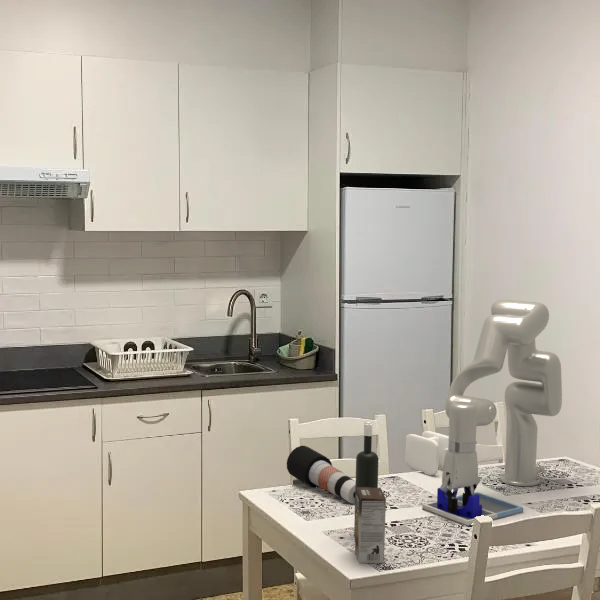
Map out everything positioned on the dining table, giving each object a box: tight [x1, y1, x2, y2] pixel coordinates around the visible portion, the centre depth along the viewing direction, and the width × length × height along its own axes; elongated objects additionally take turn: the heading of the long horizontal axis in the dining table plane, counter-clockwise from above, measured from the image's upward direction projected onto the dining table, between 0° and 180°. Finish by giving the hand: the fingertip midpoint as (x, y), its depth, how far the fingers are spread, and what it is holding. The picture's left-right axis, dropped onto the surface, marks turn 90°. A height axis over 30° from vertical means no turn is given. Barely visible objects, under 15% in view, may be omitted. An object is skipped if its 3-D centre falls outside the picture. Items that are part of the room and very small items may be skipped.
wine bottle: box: [353, 421, 379, 537], centre depth 248 cm, size 6×6×30 cm
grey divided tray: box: [421, 491, 524, 527], centre depth 271 cm, size 22×18×2 cm
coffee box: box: [354, 487, 387, 564], centre depth 233 cm, size 9×6×16 cm
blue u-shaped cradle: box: [436, 487, 482, 519], centre depth 268 cm, size 12×4×6 cm, turn 46°
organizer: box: [404, 430, 449, 476], centre depth 313 cm, size 15×11×12 cm
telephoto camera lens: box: [286, 445, 356, 505], centre depth 285 cm, size 10×34×10 cm, turn 35°
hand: (459, 509), depth 268 cm, fingers closed on blue u-shaped cradle, 5 cm apart
